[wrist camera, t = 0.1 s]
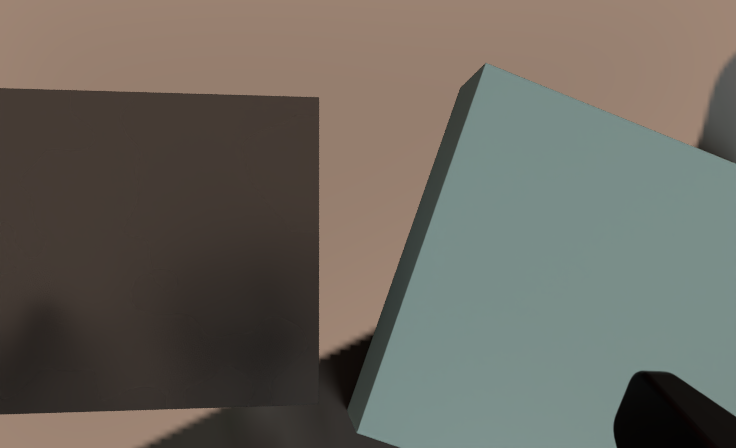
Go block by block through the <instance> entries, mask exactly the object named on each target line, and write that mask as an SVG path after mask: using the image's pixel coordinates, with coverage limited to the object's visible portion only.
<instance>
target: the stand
mask: <svg viewBox="0 0 736 448" xmlns="http://www.w3.org/2000/svg"><path fill="white" fill-rule="evenodd" d="M642 370H646V371H666V372H670V373H672V374H674V375H676V376H677V377H679V378H680V379H682V380H683V381H685V382H686V383H688V384H689V385H690V386H692V387H693V388H695V389H696V390H698V391H699V392H701V393H702V394H704V395H705V396H707V397H708V398H710V399H711V400H712V401H714V402H715V403H717V404H718V405H720V406H721V407H723V408H724V409H726V410H727V411H729V412H730V413H732V414H733V415H734V416H736V164H735V163H732V162H730V161H727V160H725V159H723V158H720V157H718V156H715V155H713V154H710V153H708V152H705V151H703V150H700V149H698V148H695V147H693V146H690V145H688V144H685V143H683V142H680V141H678V140H675V139H673V138H671V137H668V136H665V135H663V134H661V133H658V132H656V131H653V130H651V129H648V128H646V127H643V126H641V125H638V124H636V123H633V122H630V121H628V120H626V119H624V118H621V117H619V116H616V115H613V114H611V113H609V112H606V111H604V110H601V109H599V108H596V107H594V106H591V105H589V104H586V103H584V102H581V101H579V100H576V99H574V98H572V97H569V96H567V95H564V94H561V93H559V92H557V91H554V90H552V89H549V88H547V87H544V86H542V85H539V84H537V83H534V82H532V81H529V80H527V79H525V78H522V77H520V76H517V75H514V74H512V73H510V72H507V71H505V70H502V69H500V68H497V67H495V66H492V65H490V64H487V63H485V65H483V66H482V67H481V68H480V69H479V70H478V71H477V72H476V73H475V74H474V75H473V76H472V77H471V78H470V79H469V80H468V81H467V82H466V83H465V84H464V85H463V86H462V87H461V88H460V90H459V93H458V96H457V99H456V102H455V105H454V107H453V110H452V113H451V116H450V119H449V122H448V125H447V128H446V130H445V133H444V136H443V139H442V142H441V145H440V147H439V150H438V153H437V156H436V159H435V162H434V164H433V167H432V170H431V173H430V176H429V179H428V182H427V184H426V187H425V190H424V193H423V196H422V199H421V201H420V204H419V207H418V210H417V213H416V216H415V219H414V222H413V224H412V227H411V230H410V233H409V236H408V238H407V242H406V244H405V247H404V250H403V253H402V256H401V258H400V261H399V264H398V267H397V270H396V273H395V276H394V278H393V281H392V284H391V287H390V290H389V293H388V296H387V298H386V301H385V304H384V307H383V310H382V312H381V315H380V318H379V321H378V324H377V327H376V330H375V332H374V335H373V338H372V341H371V344H370V347H369V349H368V352H367V355H366V358H365V361H364V364H363V367H362V369H361V372H360V375H359V378H358V381H357V384H356V386H355V389H354V392H353V395H352V398H351V401H350V404H349V406H348V409H347V411H348V414H349V416H350V418H351V421H352V423H353V425H354V427H355V430H356V432H357V433H359V434H362V435H365V436H368V437H371V438H374V439H377V440H380V441H383V442H386V443H389V444H392V445H395V446H398V447H400V448H617V447H616V443H615V439H614V433H613V424H614V418H615V415H616V413H617V410H618V408H619V405H620V403H621V401H622V398H623V396H624V393H625V391H626V388H627V386H628V383H629V381H630V379H631V377H632V376H633V375H634V374H635V373H636V372H638V371H642Z"/></svg>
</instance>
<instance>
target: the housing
mask: <svg viewBox="0 0 736 448" xmlns="http://www.w3.org/2000/svg"><path fill="white" fill-rule="evenodd" d="M318 404H319V98H318V97H287V96H252V95H217V94H214V95H213V94H182V93H181V94H180V93H147V92H112V91H110V92H109V91H77V90H42V89H41V90H40V89H6V88H0V414H29V413H57V412H58V413H59V412H60V413H61V412H91V411H125V410H156V409H157V410H158V409H190V408H222V407H254V406H286V405H318Z"/></svg>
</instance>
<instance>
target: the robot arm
mask: <svg viewBox="0 0 736 448" xmlns="http://www.w3.org/2000/svg"><path fill="white" fill-rule="evenodd" d="M613 433H614V439H615V443H616V447H617V448H736V416H734V415H733V414H732V413H730V412H729V411H727V410H726V409H724V408H723V407H721V406H720V405H718V404H717V403H715V402H714V401H712V400H711V399H710V398H708V397H707V396H705V395H704V394H702V393H701V392H699V391H698V390H696V389H695V388H693V387H692V386H690V385H689V384H688V383H686V382H685V381H683V380H682V379H680V378H679V377H677V376H676V375H674V374H672V373H670V372H666V371H646V370H642V371H638V372H636V373H635V374H634V375H633V376H632V377H631V379H630V381H629V383H628V386H627V388H626V391H625V393H624V396H623V398H622V401H621V403H620V405H619V408H618V410H617V413H616V415H615V418H614V424H613Z"/></svg>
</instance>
